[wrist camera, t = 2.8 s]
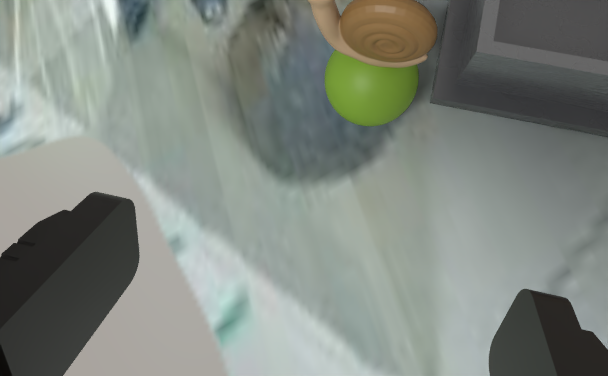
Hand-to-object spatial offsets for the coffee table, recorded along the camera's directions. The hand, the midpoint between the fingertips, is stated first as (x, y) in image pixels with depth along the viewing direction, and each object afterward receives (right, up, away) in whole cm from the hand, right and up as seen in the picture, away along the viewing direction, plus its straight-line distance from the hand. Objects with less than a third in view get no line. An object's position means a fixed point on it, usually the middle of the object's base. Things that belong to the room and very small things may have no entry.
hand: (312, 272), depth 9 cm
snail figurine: (+3, +8, +20) cm, 22 cm away
